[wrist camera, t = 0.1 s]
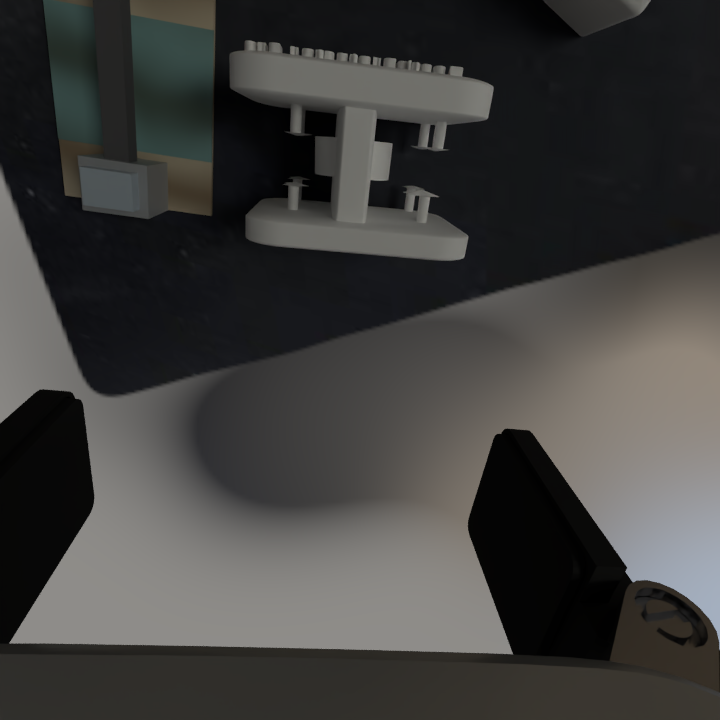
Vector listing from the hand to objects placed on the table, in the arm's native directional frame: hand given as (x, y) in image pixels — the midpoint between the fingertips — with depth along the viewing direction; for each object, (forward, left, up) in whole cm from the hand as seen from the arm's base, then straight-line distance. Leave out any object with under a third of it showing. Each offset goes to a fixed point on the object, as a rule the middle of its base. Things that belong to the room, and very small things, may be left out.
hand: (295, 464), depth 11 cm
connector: (-2, -14, -31) cm, 34 cm away
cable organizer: (-6, +2, -32) cm, 32 cm away
